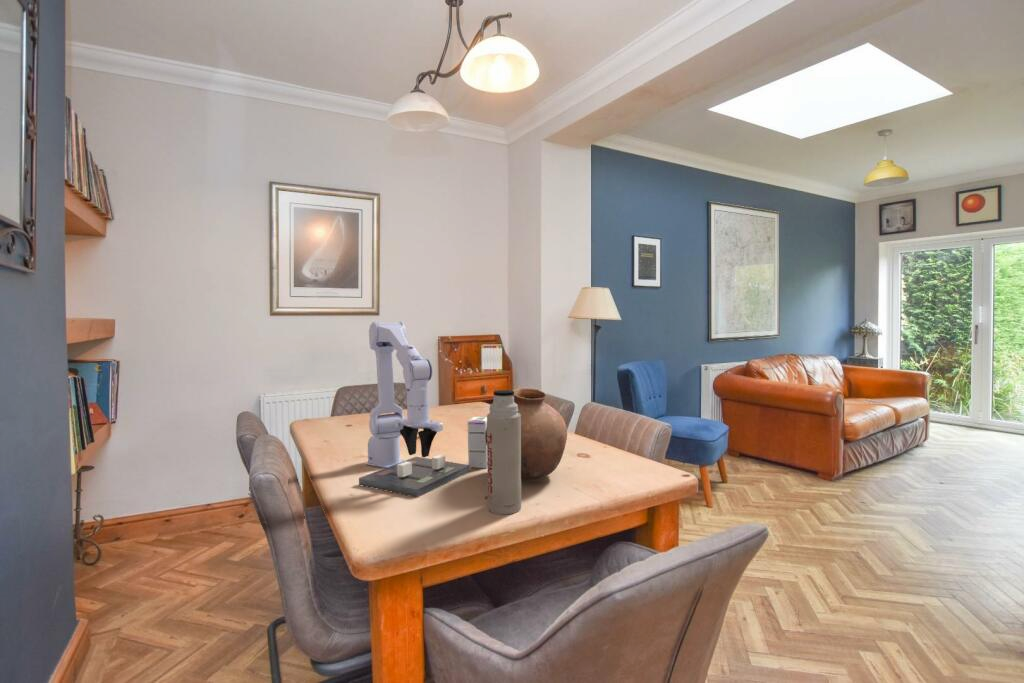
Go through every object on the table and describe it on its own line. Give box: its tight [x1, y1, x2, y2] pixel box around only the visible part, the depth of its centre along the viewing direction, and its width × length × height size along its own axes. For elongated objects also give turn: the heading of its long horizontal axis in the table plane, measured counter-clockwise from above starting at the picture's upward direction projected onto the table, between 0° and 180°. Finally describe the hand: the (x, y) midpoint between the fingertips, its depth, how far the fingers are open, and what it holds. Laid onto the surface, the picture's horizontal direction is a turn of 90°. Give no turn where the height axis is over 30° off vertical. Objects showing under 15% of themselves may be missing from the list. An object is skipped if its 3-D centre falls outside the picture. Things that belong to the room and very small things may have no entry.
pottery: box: [485, 387, 568, 481], centre depth 143 cm, size 23×23×25 cm
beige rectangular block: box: [397, 462, 412, 477], centre depth 139 cm, size 2×4×3 cm, turn 151°
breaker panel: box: [358, 456, 471, 498], centre depth 144 cm, size 20×24×2 cm
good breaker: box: [431, 454, 446, 469], centre depth 146 cm, size 2×4×3 cm, turn 151°
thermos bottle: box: [486, 389, 522, 515], centre depth 120 cm, size 8×8×28 cm
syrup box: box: [467, 416, 487, 469], centre depth 156 cm, size 6×6×14 cm
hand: (418, 455), depth 137 cm, fingers open, 4 cm apart
